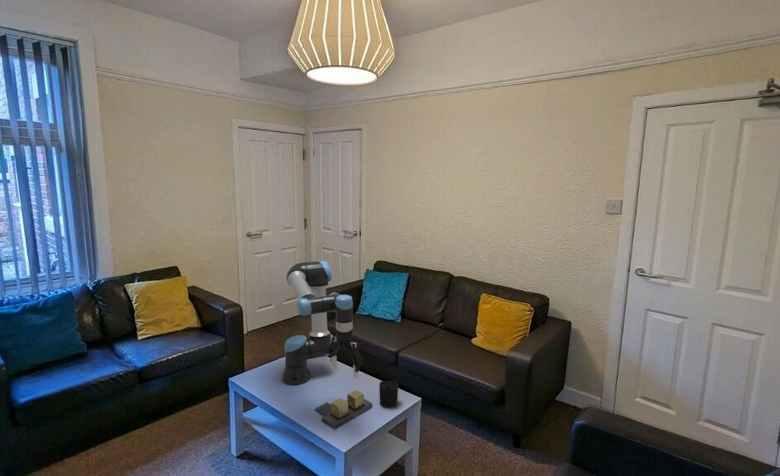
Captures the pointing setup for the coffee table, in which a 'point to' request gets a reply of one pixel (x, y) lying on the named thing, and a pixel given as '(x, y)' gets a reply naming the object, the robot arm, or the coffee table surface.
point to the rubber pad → (323, 409)
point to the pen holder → (388, 393)
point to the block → (355, 400)
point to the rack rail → (351, 414)
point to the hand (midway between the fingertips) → (344, 373)
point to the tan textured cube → (339, 409)
